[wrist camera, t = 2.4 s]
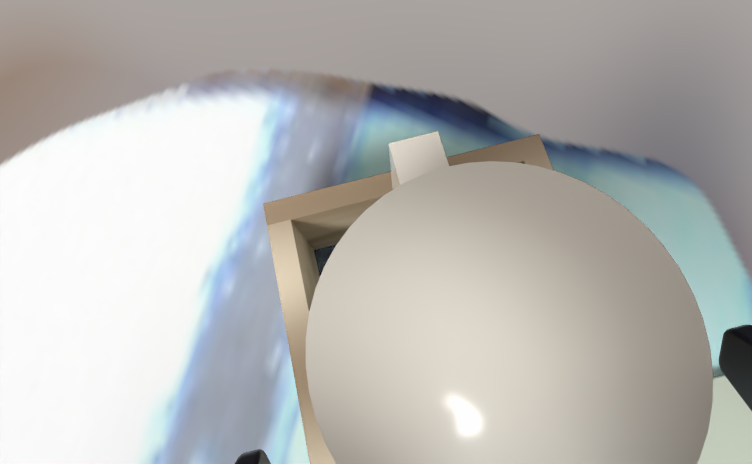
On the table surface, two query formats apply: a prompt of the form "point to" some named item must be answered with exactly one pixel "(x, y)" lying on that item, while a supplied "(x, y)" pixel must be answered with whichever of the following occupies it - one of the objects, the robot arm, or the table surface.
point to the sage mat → (728, 427)
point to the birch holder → (325, 228)
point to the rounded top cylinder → (504, 325)
